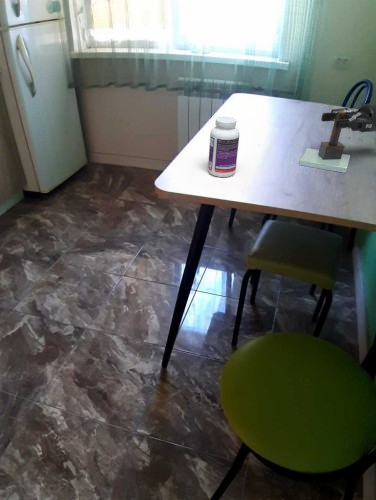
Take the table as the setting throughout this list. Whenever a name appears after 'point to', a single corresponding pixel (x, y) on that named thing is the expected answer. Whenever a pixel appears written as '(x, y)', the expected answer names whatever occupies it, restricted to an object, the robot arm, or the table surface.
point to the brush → (333, 142)
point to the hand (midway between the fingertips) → (328, 120)
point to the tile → (324, 161)
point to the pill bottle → (223, 147)
